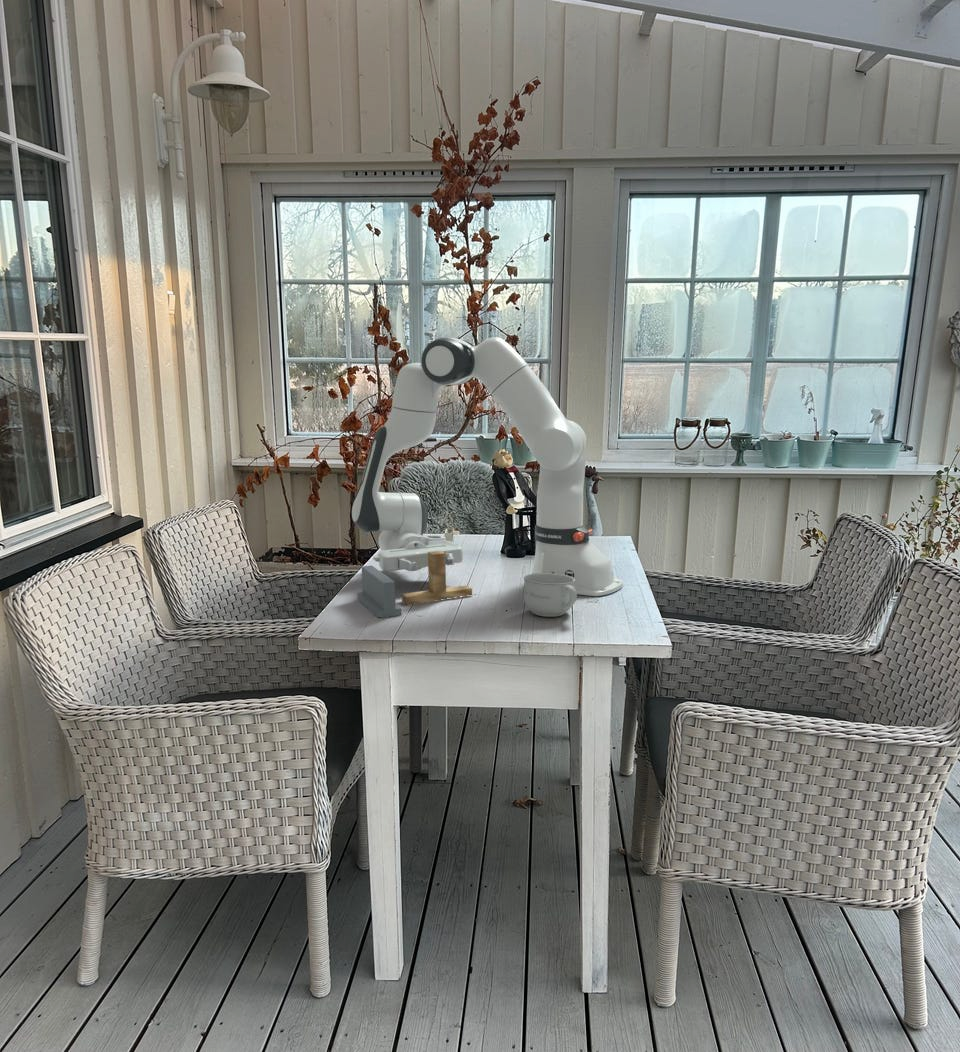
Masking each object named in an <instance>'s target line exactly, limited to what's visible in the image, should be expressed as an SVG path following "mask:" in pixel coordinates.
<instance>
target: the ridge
mask: <svg viewBox="0 0 960 1052" xmlns="http://www.w3.org/2000/svg"><path fill="white" fill-rule="evenodd" d="M361 581H362V583H361V584H362V585H361V586H362V587H361V588H362V591H360V592H357V593H356V599H357V600H358V601H359V602H360V603H361V602H362V603H363V604H364V605H363V604H362V603H361V604H362V605H363V606H365V607H366V608H367V609H368V610H369V611H370V610H371V611H372V612H371V611H370V612H371V613H372V614H373V615H375V616H376V615H377V616H378V617H384V618H388V617H387V616H391V617H396V615H398V616H402V607H400V606H399V605H398V604H397V603H396V583H395V580H393V579H391V578H390V577H389V576H387V575H386V574H384V573H383V572H382V571H381V570H379V569H377V568H376V567H375V566H374V565H364V566H363V565H362V566H361ZM377 616H376V617H377ZM378 617H377V618H378Z"/></svg>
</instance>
